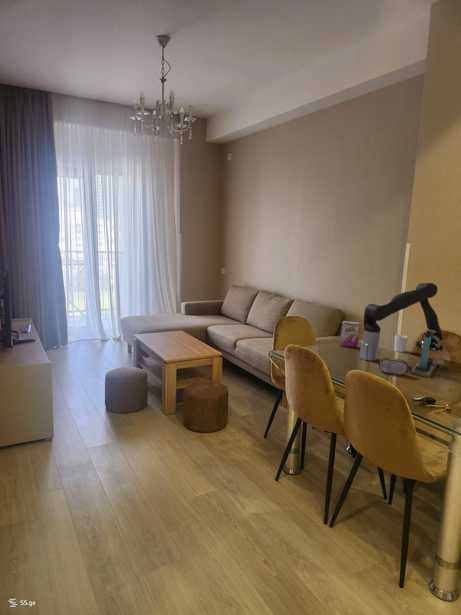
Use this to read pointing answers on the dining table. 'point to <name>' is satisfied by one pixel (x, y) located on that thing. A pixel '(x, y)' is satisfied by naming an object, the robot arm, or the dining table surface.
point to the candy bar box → (349, 334)
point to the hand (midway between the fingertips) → (427, 348)
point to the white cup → (400, 343)
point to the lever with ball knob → (425, 352)
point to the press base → (422, 372)
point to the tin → (393, 366)
